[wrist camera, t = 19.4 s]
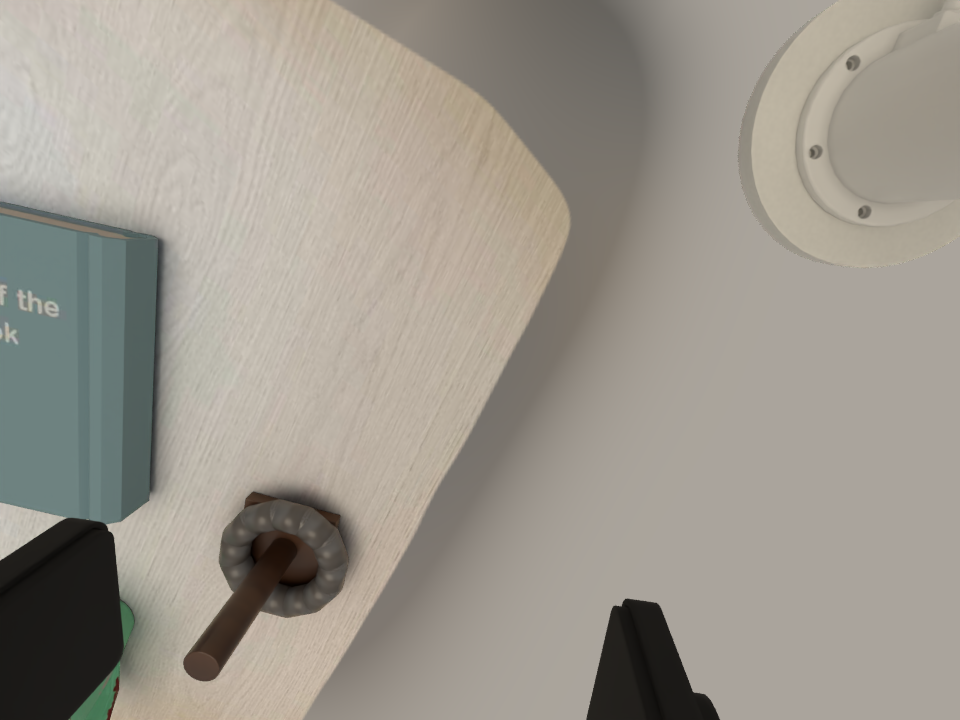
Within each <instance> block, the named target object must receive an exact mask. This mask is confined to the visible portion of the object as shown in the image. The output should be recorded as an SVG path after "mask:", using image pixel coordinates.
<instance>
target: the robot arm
mask: <svg viewBox="0 0 960 720" xmlns="http://www.w3.org/2000/svg"><path fill="white" fill-rule="evenodd" d="M846 64H847V66H848V68H847V67H846ZM809 150H810V151H811V153H812V154H811V156H809ZM796 157H797V164H798V170H799V173H800V175H801V178H802V181H803V183H804V186H805V188H806V189H807V191H808V192H809V194H810V195H811V197H812V198H813V200H814V201H815V202H816V203H817V204H818V205H819V206H820V207H821V208H823V209H824V210H825V211H826V212H828V213H829V214H831V215H833V216H834V217H836V218H838V219H839V220H842V221H845V222H848V223H851V224H854V225H861V226H870V227H890V226H896V225H902V224H908V223H911V222H914V221H917V220H920V219H922V218H925V217H928V216H929V215H931V214H933V213H935V212H937V211H939V210H941V209H943V208H944V207H946V206H947V205H948V204H950V203H951V202H953V201H954V200H955V199H960V0H945V2H944V5H943V7H942V9H941V11H939V12H936V13H935V14H934V15H933V17H932V18H931V19H923V20H914V21H906V22H902V23H899V24H896V25H892V26H889V27H886V28H884V29H882V30H880V31H878V32H876V33H874V34H872V35H870V36H868V37H866V38H864V39H863V40H861V41H859V42H858V43H856V44H855V45H853V46H851V47H850V48H848V49H847V50H846V51H845V52H844V53H843V54H842V55H840V56H839V57H838V58H837V59H836V60H835V61H833V63H832V64H831V65H830V66H829V67H828V68H827V70H826V71H825V72H824V73H823V74H822V76H821V77H820V78H819V79H818V81H817V83H816V84H815V86H814V88H813V89H812V91H811V93H810V94H809V96H808V98H807V101H806V103H805V106H804V108H803V111H802V113H801V116H800V120H799V125H798V130H797V134H796ZM858 210H859V214H858ZM123 650H124V639H123V628H122V618H121V607H120V596H119V586H118V575H117V565H116V554H115V543H114V537H113V534H112V533H111V532H109V531H108V528H107V526H106V525H105V523H103V522H99V521H93V520H86V519H79V518H66V519H64V520H62V521H60V522H59V523H57V524H56V525H54V526H53V527H51V528H49V529H48V530H46V531H45V532H43V533H42V534H40V535H39V536H37V537H36V538H34V539H33V540H31V541H30V542H28V543H27V544H25V545H24V546H22V547H21V548H19V549H17V550H16V551H14V552H13V553H11V554H10V555H8V556H7V557H5V558H4V559H2V560H1V561H0V720H69V719H70V717H71V716H72V715H73V714H74V713H75V712H76V711H77V710H78V709H79V707H80V706H81V705H82V704H83V703H84V702H85V701H86V700H87V699H88V697H89V696H90V695H91V694H92V693H93V692H94V691H95V690H96V688H97V687H98V686H99V685H100V684H101V683H102V682H103V681H104V680H105V678H106V677H107V676H108V675H109V674H110V673H111V672H112V671H113V669H114V668H115V667H116V666H117V664H118V662H119V661H120V659H121V656H122V654H123ZM587 720H720V719H719V717H718V714H717V712H716V709H715V708H714V706H713V704H712V702H711V700H710V699H709V698H708V697H707V696H706V695H705V694H700V693H694V692H693V691H692V688H691V686H690V683H689V680H688V678H687V675H686V673H685V670H684V667H683V665H682V662H681V659H680V657H679V654H678V652H677V649H676V646H675V644H674V641H673V638H672V636H671V634H670V631H669V628H668V625H667V623H666V620H665V618H664V615H663V612H662V610H661V608H660V606H659V605H658V604H657V603H653V602H647V601H640V600H633V599H625V600H624V601H623V604H622V607H621V606H613V608H612V611H611V614H610V619H609V623H608V627H607V632H606V636H605V640H604V645H603V649H602V653H601V658H600V663H599V667H598V671H597V675H596V679H595V684H594V688H593V693H592V697H591V701H590V705H589V710H588V714H587Z"/></svg>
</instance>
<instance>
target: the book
mask: <svg viewBox="0 0 960 720" xmlns="http://www.w3.org/2000/svg"><path fill="white" fill-rule="evenodd" d="M157 261H158V239H157V238H156V237H155V236H152V235H147V234H142V233H134V232H132V231H129V230H125V229H120V228H116V227H111V226H107V225H103V224H98V223H94V222H89V221H85V220H80V219H76V218H71V217H67V216H62V215H58V214H54V213H49V212H45V211H40V210H36V209H31V208H27V207H22V206H18V205H14V204H9V203H5V202H0V502H1V503H5V504H10V505H14V506H18V507H23V508H27V509H32V510H36V511H40V512H45V513H49V514H54V515H58V516H62V517H67V518H79V519H89V520H93V521H99V522H103V523H105V524H110V523H116V522H121V521H122V520H124V519H125V518H126V517H128V516H129V515H130V514H132V513H133V512H134V511H136V510H137V509H138V508H139V507H141V506H142V505H143V504H145V503H146V502H147V501H149V488H150V460H151V432H152V403H153V375H154V346H155V318H156V290H157Z"/></svg>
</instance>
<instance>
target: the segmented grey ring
mask: <svg viewBox="0 0 960 720" xmlns="http://www.w3.org/2000/svg"><path fill="white" fill-rule="evenodd" d="M274 530H277V531H281V532H285V533H289V534H292V535H296V536H297V537H298V538H300V539H301V540H302V541H303V542H304V543H306V544H307V545H308V546H309V547H310V548H312V550H313V552H314V555H315V557H316V560H317V562H318V570H317V575H316V577H315V578H313V579H312V580H311V581H310V582H309V583H308V584H304V585H299V586H294V587H291V586H287V585H283V584H279V583H278V584H277V586H276V587H275V589H274V590H273V592H272V593H271V595H270V597H269V598H268V600H267V601H266V603H265V604H264V606H263V607H262V609H261V610H260V611H262V612H265V613H269V614H273V615H277V616H280V617H285V618H289V617H295V616H300V615H306V614H311V613H315V612H318V611H319V610H321V609H322V608H323V607H324V606H325V605H326V604H328V603H329V602H330V601H331V600H332V599H333V598H334V597H336V596H337V595H338V594H339V593H340V592H341V590H342V588H343V585H344V581H345V576H346V572H347V567H348V562H349V558H348V554H347V552H346V549H345V546H344V544H343V541H342V539H341V536H340V533H339V531H338V529H337V528H336V527H335V526H334V525H333V524H331V523H330V522H329V521H328V520H327V519H326V518H324V517H323V516H322V515H321V514H320V513H319V512H317V511H316V510H315V509H313V508H311V507H309V506H305V505H301V504H297V503H294V502H290V501H286V500H282V499H278V500H273V501H268V502H264V503H259V504H255V505H251V506H248V507H246V508H245V509H244V510H242V511H241V513H240V514H239V515H238V516H237V517H236V518H235V519H234V520H233V521H232V522H231V523H230V524H229V525H228V526H227V527H226V528H225V529H224V531H223V534H222V539H221V546H220V554H219V564H220V567H221V569H222V571H223V573H224V576H225V578H226V580H227V582H228V584H229V586H230V588H231V590H232V591H233V592H235V590H236V589H237V588H238V586H239V585H240V584H241V582H242V581H243V580H244V579H245V577H246V576H247V575H248V573H249V572H250V571H251V569H252V568H253V567H254V565H255V563H254V560H253V558H252V556H251V554H250V553H251V547H252V541H253V540H254V539H255V538H256V537H257V536H258V535H259V534H260V533H265V532H270V531H274Z"/></svg>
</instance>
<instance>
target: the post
mask: <svg viewBox="0 0 960 720" xmlns="http://www.w3.org/2000/svg"><path fill="white" fill-rule="evenodd" d="M273 500H278V498H274V497H270V496H267V495H263V494H259V493H255V492H252V493H251V494H250V495H249V496H248V497H247V498H246V501H245V507H244V509H245V508H246V507H248V506H251V505H255V504H259V503H264V502H268V501H273ZM313 509H315V508H313ZM315 510H316V511H317V512H319V513H320V514H321V515H322V516H323V517H324V518H326V519H327V520H328V521H329V522H330V523H331V524H333V525H334V526H335V527H336V528H337V529H338V525H339V520H340V515H337V514H333V513H330V512H326V511H322V510H318V509H315ZM250 554H251V556H252V558H253V560H254V563H255V565H254V567H253V568H252V569H251V571H250V572H249V573H248V575H247V576H246V577H245V579H244V580H243V581H242V582H241V584H240V585H239V586H238V588H237V589H236V590H235V592H234V593H233V594H232V596H231V597H230V598H229V600H228V601H227V602H226V604H225V605H224V606H223V608H222V609H221V610H220V612H219V613H218V614H217V616H216V617H215V618H214V619H213V621H212V622H211V623H210V625H209V626H208V627H207V629H206V630H205V631H204V633H203V634H202V635H201V637H200V638H199V639H198V641H197V642H196V643H195V645H194V646H193V647H192V649H191V650H190V651H189V652H188V654H187V655H186V657H185V658H184V662H183V665H184V669H185V671H186V672H187V673H188V674H189V675H190V676H191V677H192V678H194V679H196V680H199V681H211V680H213V679H215V678H216V677H217V676H218V675H219V673H220V672H221V670H222V668H223V667H224V665H225V664H226V662H227V661H228V659H229V658H230V656H231V655H232V653H233V652H234V650H235V649H236V647H237V646H238V644H239V642H240V641H241V639H242V638H243V636H244V635H245V633H246V632H247V630H248V629H249V627H250V626H251V624H252V623H253V621H254V620H255V618H256V616H257V615H258V613H259V612H260V610H261V609H262V607H263V606H264V604H265V603H266V601H267V600H268V598H269V597H270V595H271V593H272V592H273V590H274V589H275V587H276V586H277V584H278V583H279V584H283V585H287V586H291V587H294V586H299V585H304V584H308V583H309V582H310V581H311V580H312V579H313V578H315V577H316V575H317V570H318V562H317V560H316V557H315V555H314V552H313V550H312V548H310V547H309V546H308V545H307V544H306V543H304V542H303V541H302V540H301V539H300V538H298V537H297V536H296V535H292V534H289V533H285V532H281V531H277V530H274V531H270V532H265V533H260V534H259V535H258V536H257V537H256V538H255V539H254V540H253V541H252V547H251V553H250Z"/></svg>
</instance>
